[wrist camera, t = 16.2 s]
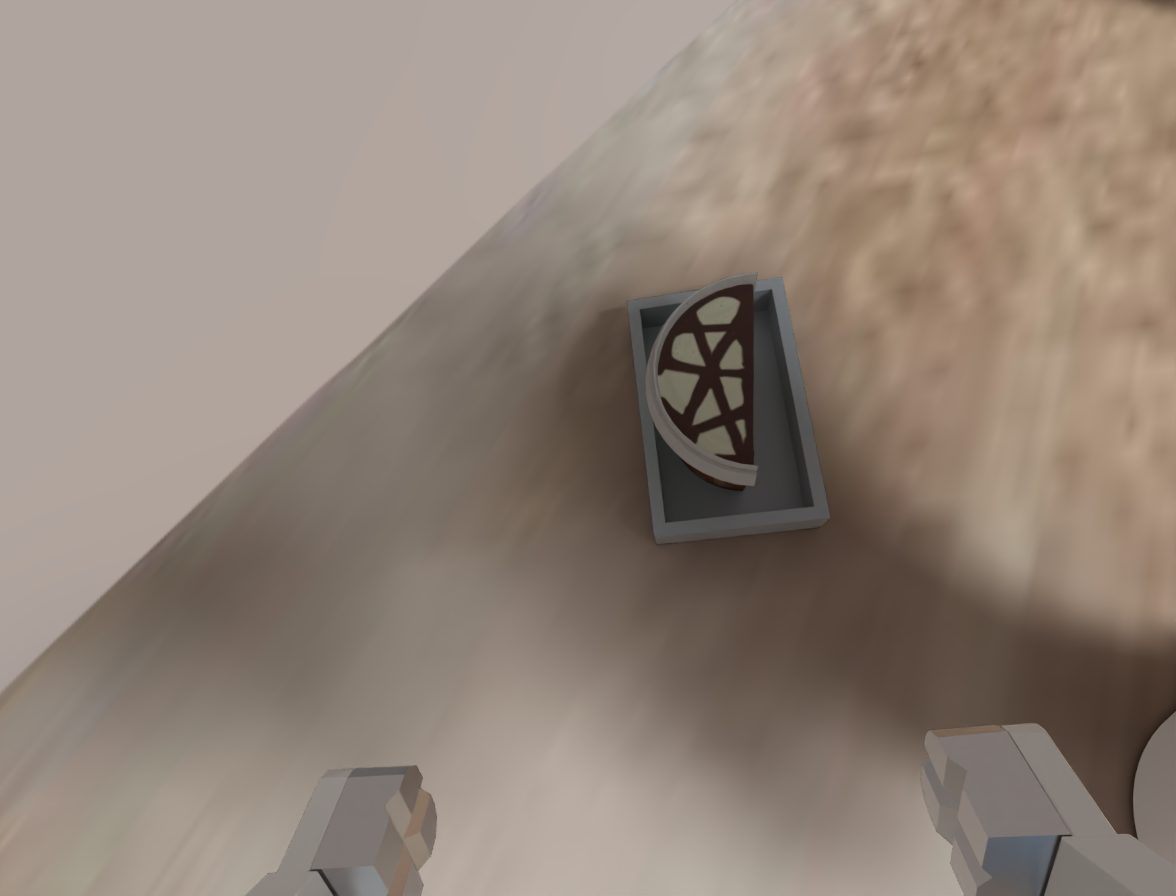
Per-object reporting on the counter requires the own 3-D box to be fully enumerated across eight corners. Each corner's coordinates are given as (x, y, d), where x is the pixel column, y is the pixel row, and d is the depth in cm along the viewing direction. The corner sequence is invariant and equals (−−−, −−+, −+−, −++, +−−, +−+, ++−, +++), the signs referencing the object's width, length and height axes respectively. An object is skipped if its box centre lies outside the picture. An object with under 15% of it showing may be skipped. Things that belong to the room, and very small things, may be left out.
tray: (775, 302, 46) (782, 276, 43) (819, 527, 41) (830, 517, 38) (631, 324, 47) (626, 300, 44) (656, 544, 42) (654, 537, 39)
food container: (657, 342, 46) (647, 266, 36) (743, 342, 45) (757, 263, 35) (649, 509, 43) (637, 473, 33) (742, 513, 41) (757, 477, 32)
